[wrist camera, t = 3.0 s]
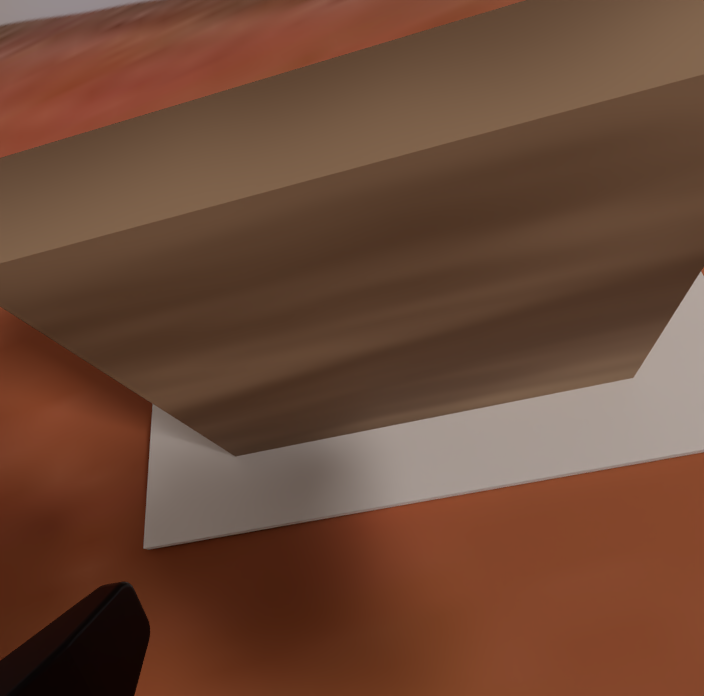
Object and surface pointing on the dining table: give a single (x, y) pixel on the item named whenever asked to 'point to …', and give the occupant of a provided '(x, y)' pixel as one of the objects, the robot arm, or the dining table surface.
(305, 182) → the board
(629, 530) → the dining table surface
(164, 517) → the mat
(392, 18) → the dining table surface
